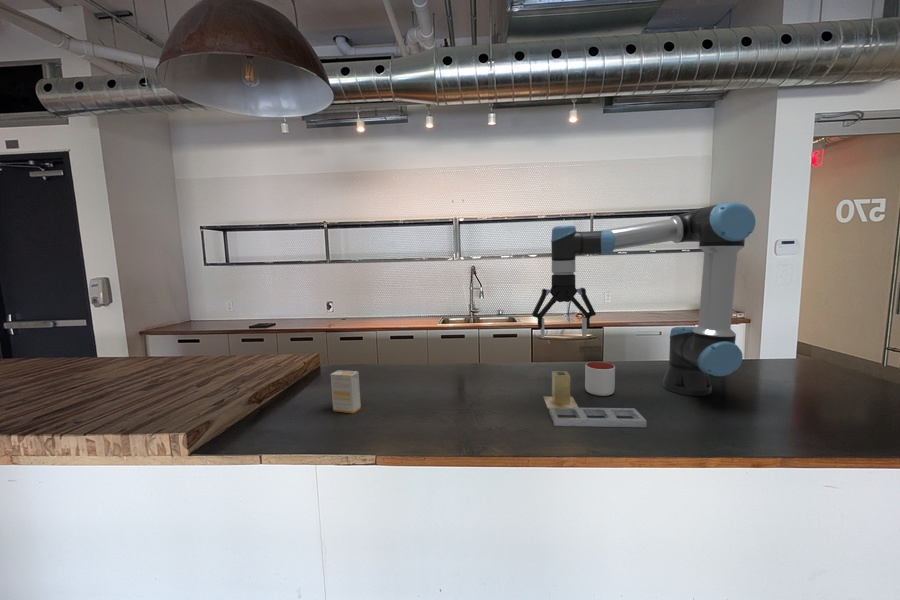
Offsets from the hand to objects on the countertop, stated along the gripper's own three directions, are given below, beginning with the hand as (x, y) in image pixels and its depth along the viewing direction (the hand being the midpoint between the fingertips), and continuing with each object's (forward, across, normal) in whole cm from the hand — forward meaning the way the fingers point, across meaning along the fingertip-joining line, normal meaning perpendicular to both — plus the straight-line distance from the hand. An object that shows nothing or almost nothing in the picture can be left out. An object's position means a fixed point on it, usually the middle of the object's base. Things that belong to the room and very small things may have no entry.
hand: (563, 337), depth 127 cm
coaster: (+23, +1, +1) cm, 23 cm away
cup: (+23, -15, -10) cm, 29 cm away
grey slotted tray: (+23, -7, +14) cm, 27 cm away
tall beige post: (+22, +1, +1) cm, 22 cm away
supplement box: (+22, +73, +8) cm, 77 cm away
